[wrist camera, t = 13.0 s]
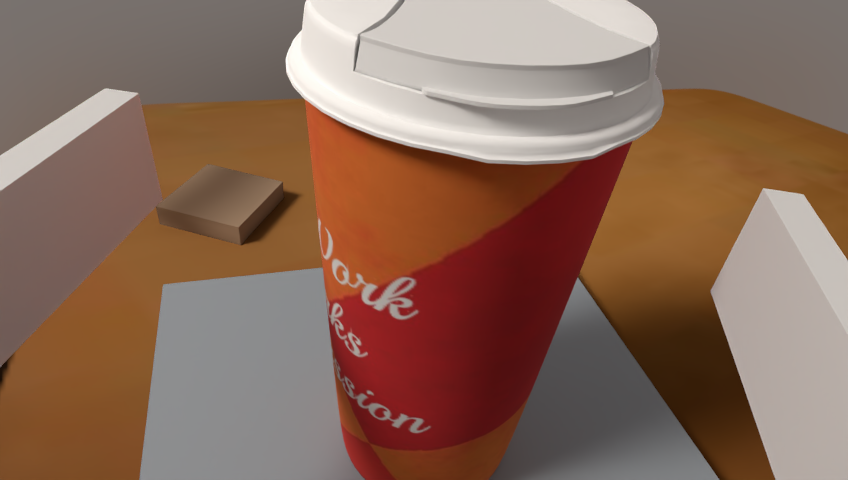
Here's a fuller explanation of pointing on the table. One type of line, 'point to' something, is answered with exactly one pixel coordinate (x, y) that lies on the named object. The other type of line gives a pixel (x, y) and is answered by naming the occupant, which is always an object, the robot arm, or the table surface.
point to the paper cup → (459, 204)
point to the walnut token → (221, 203)
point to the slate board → (318, 407)
